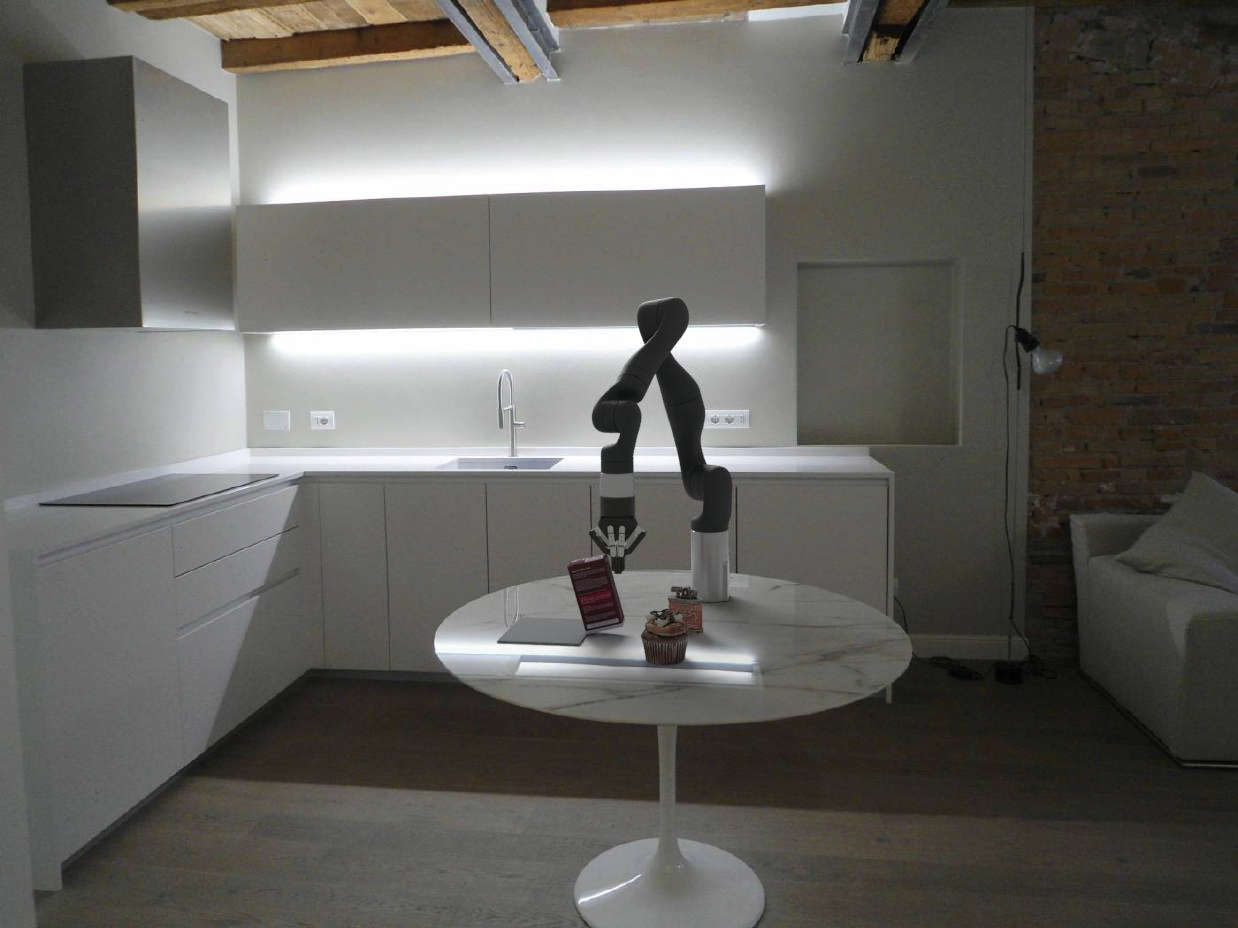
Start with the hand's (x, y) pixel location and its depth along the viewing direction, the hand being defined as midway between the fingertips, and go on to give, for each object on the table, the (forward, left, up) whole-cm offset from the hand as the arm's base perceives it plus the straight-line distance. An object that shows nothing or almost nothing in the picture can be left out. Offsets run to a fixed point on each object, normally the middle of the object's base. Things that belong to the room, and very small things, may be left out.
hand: (618, 573), depth 202 cm
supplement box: (+3, -1, -13) cm, 13 cm away
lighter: (-14, -5, -14) cm, 20 cm away
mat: (+16, -1, -14) cm, 21 cm away
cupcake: (-12, +14, -14) cm, 23 cm away
